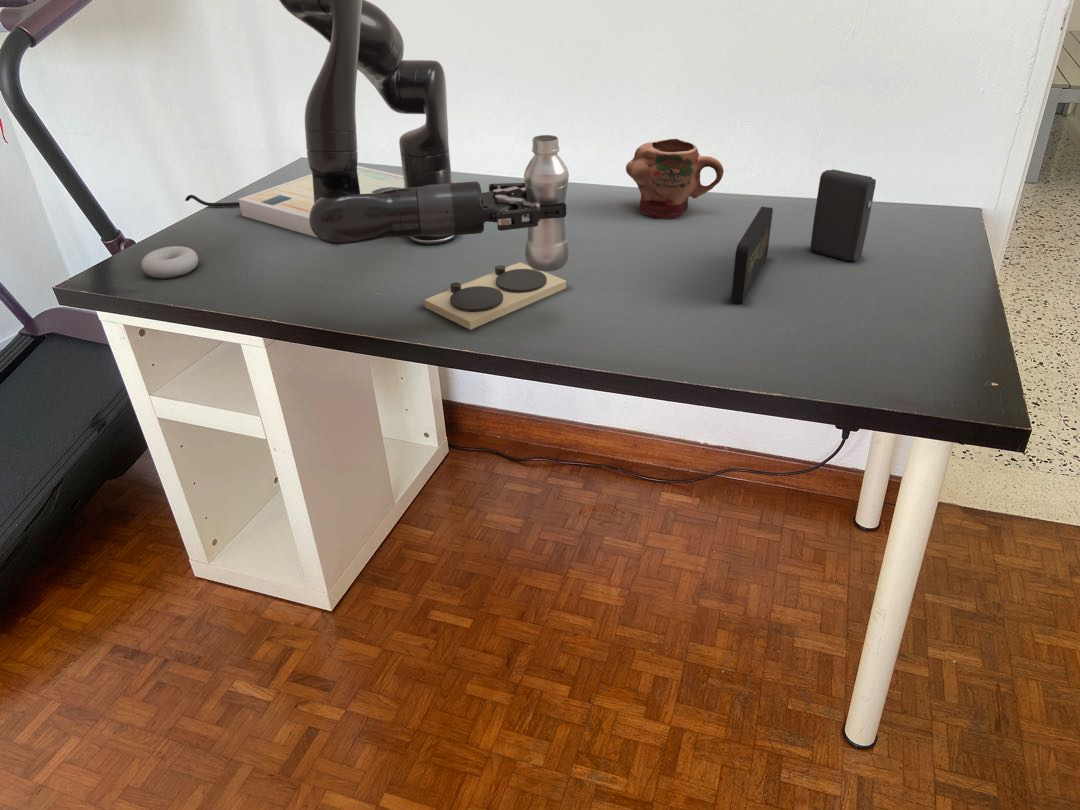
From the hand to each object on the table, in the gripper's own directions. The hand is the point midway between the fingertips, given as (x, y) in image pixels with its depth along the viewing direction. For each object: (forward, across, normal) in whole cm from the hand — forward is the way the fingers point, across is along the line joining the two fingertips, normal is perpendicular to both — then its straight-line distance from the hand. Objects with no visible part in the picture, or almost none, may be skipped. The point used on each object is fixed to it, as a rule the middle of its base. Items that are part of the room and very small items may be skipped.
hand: (561, 201), depth 126 cm
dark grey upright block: (+54, +15, +20) cm, 59 cm away
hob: (-10, +10, +20) cm, 24 cm away
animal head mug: (+31, +45, +20) cm, 58 cm away
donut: (-69, +35, +21) cm, 80 cm away
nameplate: (+34, +8, +20) cm, 40 cm away
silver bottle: (-2, 0, +11) cm, 11 cm away
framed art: (-38, +63, +21) cm, 77 cm away
